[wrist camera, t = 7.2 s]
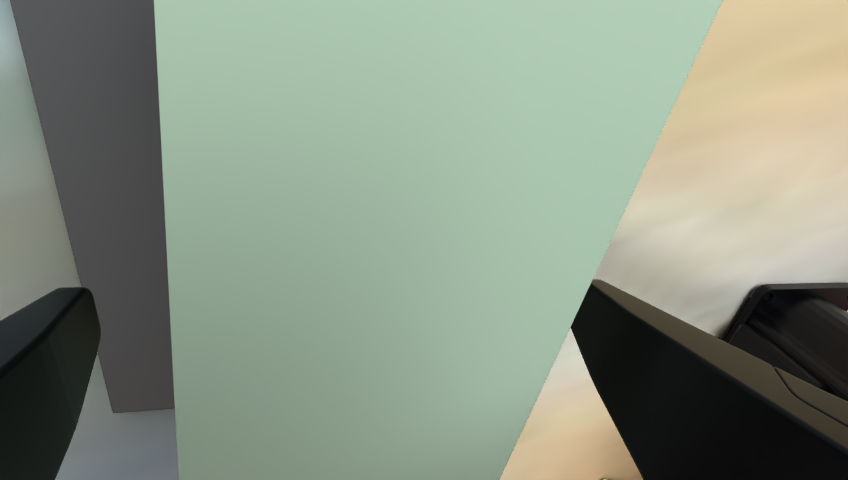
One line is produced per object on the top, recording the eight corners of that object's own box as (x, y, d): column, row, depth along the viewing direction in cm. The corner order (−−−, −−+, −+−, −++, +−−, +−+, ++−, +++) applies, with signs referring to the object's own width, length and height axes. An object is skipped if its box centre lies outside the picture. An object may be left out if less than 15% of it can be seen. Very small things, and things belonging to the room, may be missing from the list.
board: (418, 435, 15) (455, 573, 12) (211, 449, 13) (185, 619, 10) (583, -92, 8) (775, -114, 5) (212, -214, 6) (135, -377, 3)
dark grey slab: (638, -155, 12) (795, -198, 8) (484, 365, 21) (527, 456, 17) (-49, -355, 8) (-335, -609, 4) (121, 390, 17) (74, 515, 13)
